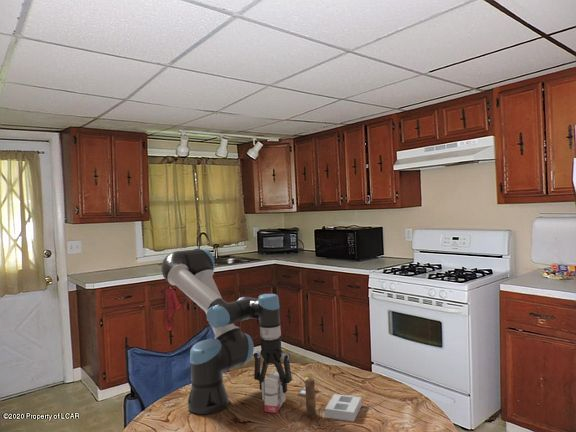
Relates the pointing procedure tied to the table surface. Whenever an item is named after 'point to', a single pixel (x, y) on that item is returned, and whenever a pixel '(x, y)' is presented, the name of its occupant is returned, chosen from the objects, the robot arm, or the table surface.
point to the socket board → (343, 407)
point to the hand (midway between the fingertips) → (273, 400)
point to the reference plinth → (303, 389)
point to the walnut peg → (310, 398)
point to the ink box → (272, 392)
